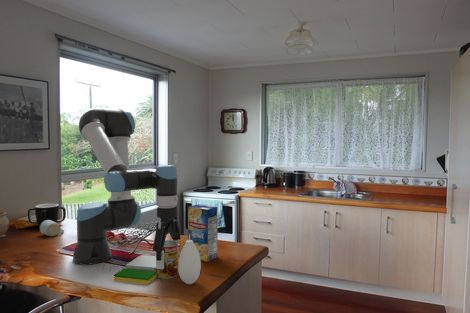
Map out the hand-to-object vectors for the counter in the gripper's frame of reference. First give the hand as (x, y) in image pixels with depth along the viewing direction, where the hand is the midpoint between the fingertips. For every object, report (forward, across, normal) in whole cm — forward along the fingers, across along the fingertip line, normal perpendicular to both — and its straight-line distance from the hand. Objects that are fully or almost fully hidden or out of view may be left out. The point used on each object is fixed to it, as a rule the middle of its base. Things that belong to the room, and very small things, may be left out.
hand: (167, 262), depth 133 cm
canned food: (+5, 0, 0) cm, 5 cm away
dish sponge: (+5, -6, +10) cm, 13 cm away
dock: (+5, +4, +10) cm, 12 cm away
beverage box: (+5, +22, -7) cm, 24 cm away
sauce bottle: (+5, -5, -10) cm, 13 cm away
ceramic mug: (+4, +37, +81) cm, 89 cm away
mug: (+3, +52, +97) cm, 110 cm away
